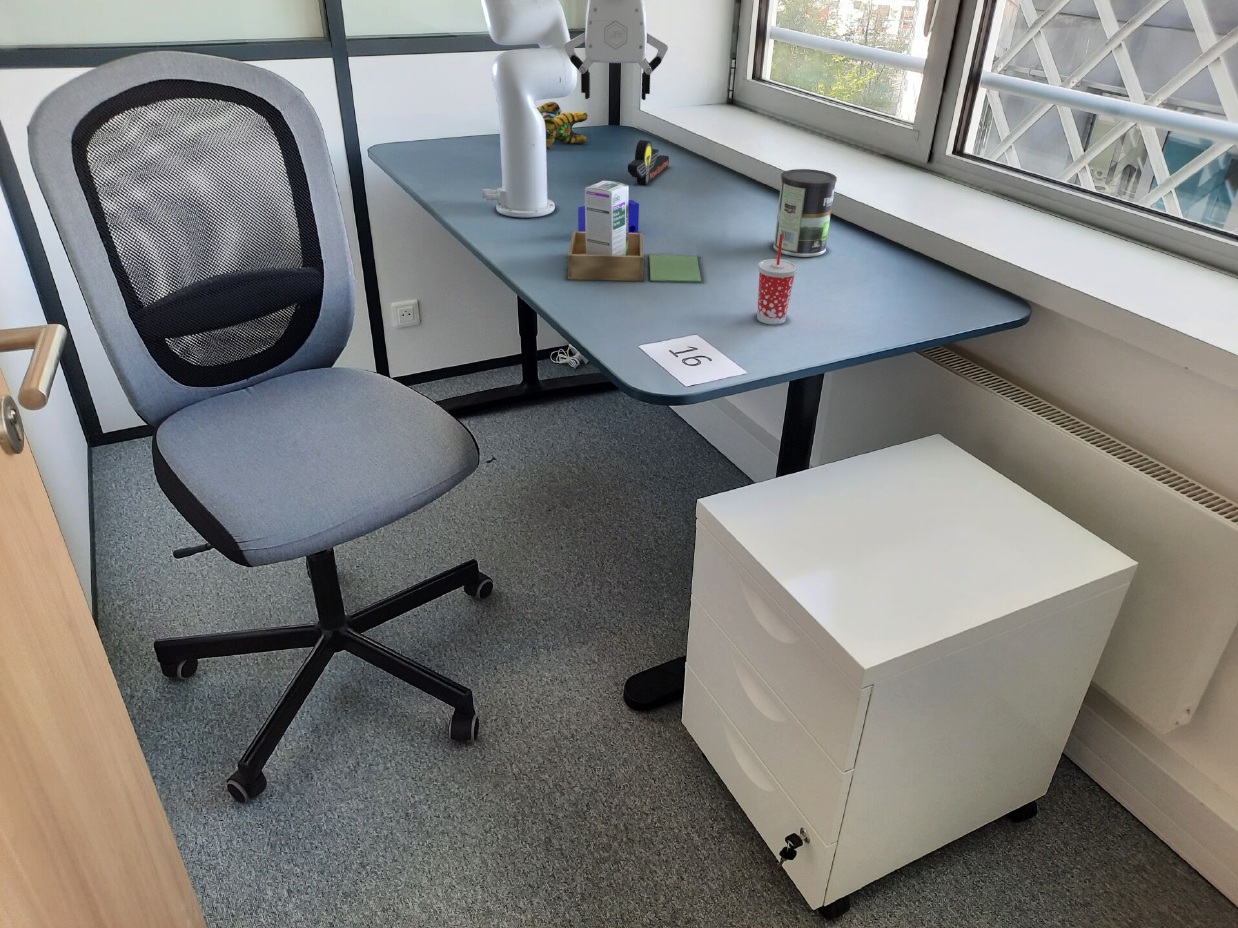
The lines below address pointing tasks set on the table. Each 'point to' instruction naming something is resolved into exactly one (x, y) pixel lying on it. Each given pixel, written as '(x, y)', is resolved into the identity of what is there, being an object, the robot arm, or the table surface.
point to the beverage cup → (775, 288)
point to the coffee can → (804, 212)
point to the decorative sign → (647, 163)
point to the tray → (605, 261)
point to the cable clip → (632, 217)
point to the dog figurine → (561, 124)
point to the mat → (674, 268)
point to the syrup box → (606, 218)
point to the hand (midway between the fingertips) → (615, 98)
